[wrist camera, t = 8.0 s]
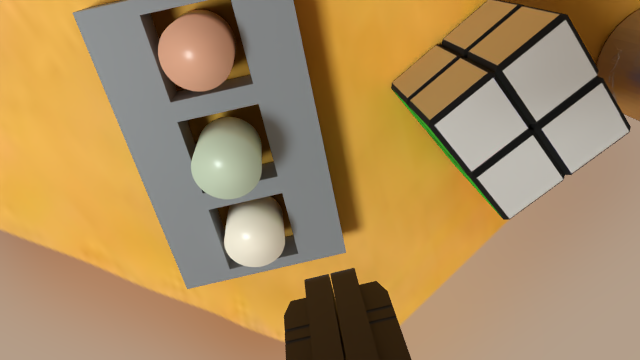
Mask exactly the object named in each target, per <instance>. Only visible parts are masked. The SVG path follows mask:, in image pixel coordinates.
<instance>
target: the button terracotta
mask: <svg viewBox="0 0 640 360" xmlns="http://www.w3.org/2000/svg"><path fill="white" fill-rule="evenodd" d="M235 54H236V39H235V35H234V33H233V30H232V29H231V27H230V25H229V24H228V23H227V22H226V21H225V20H224V19H223V18H222V17H220V16H219V15H217V14H216V13H213V12H211V11H207V10H192V11H189V12H187V13H184V14H183V15H181V16H180V17H179V18H177V19H176V20H175V21H174V22H173V23H171V24H170V25H169V26H168V27H167V28H166V29H165V30H164V32H163V34H162V35H161V38H160V40H159V45H158V57H159V61H160V64H161V67H162V69H163V71H164V72H165V74H166V75H167V76H168V77H169V78H170V80H171V81H173V82H174V83H175V84H177V85H178V86H180V87H182V88H184V89H187V90H191V91H208V90H211V89H214V88H216V87H217V86H219V85H220V84H222V83H223V82H224V81H225V80H226V78H227V77H228V76H229V74H230V72H231V69H232V66H233V62H234V58H235Z"/></svg>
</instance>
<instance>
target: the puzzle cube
mask: <svg viewBox="0 0 640 360" xmlns="http://www.w3.org/2000/svg"><path fill="white" fill-rule="evenodd" d="M598 72H599V70H598V68H597V67H596V65H595V63H594V61H593V59H592V58H591V56H590V54H589V52H588V51H587V49H586V47H585V45H584V43H583V42H582V40H581V38H580V36H579V35H578V33H577V31H576V29H575V28H574V26H573V24H572V22H571V20H570V19H569V17H568V15H566V14H562V13H557V12H552V11H547V10H542V9H538V8H533V7H527V6H524V5H520V4H515V3H510V2H505V1H500V0H488V1H487V2H485V3H484V4H483V5H482V6H481V7H480V8H478V9H477V10H476V11H475V12H474V13H473V14H471V15H470V16H469V17H468V18H467V19H466V20H464V21H463V22H462V23H461V24H460V25H459V26H458V27H456V28H455V29H454V30H453V31H452V32H451V33H449V34H448V35H447V36H446V37H445V38H444V39H443V41H442V45H435V46H434V47H433V48H432V49H431V50H430V51H428V52H427V53H426V54H425V55H424V56H423V57H421V58H420V59H419V60H418V61H417V62H416V63H414V64H413V65H412V66H411V67H410V68H409V69H407V70H406V71H405V72H404V73H403V74H402V75H401V76H399V77H398V78H397V79H396V80H395V81H394V82H392V87H391V89H392V90H393V91H394V92H395V94H396V95H397V96H398V97H399V98H400V100H401V101H402V102H403V103H404V105H405V106H406V107H407V108H408V109H409V111H410V112H411V113H412V114H413V115H414V117H415V118H416V119H417V120H418V122H419V123H420V124H421V125H422V126H423V127H424V129H425V130H426V131H427V132H428V133H429V135H430V136H431V137H432V138H433V139H434V141H435V142H436V143H437V144H438V146H439V147H440V148H441V149H442V150H443V152H444V153H445V154H446V155H447V157H448V158H449V159H450V160H451V161H452V163H453V164H454V165H455V166H456V167H457V168H458V169H459V171H460V172H461V173H462V174H463V175H464V176H465V177H466V178H467V179H468V181H469V182H470V183H471V184H472V185H473V186H474V187H475V188H476V189H477V191H478V192H479V193H480V194H481V195H482V196H483V197H484V198H485V199H486V201H487V202H488V203H489V204H490V205H491V206H492V207H493V208H494V209H495V211H496V212H497V213H498V214H499V215H500V216H501V217H502V218H503V219H511V218H512V217H514V216H515V215H516V214H518V213H519V212H520V211H522V210H523V209H524V208H526V207H527V206H529V205H530V204H531V203H533V202H534V201H536V200H537V199H538V198H540V197H541V196H542V195H544V194H545V193H547V192H548V191H549V190H551V189H552V188H553V187H555V186H556V185H558V184H559V183H560V182H562V181H563V179H564V176H565V175H572V174H573V173H574V172H575V171H577V170H578V169H580V168H581V167H583V166H584V165H585V164H587V163H588V162H589V161H591V160H592V159H594V158H595V157H596V156H598V155H599V154H600V153H602V152H603V151H605V150H606V149H607V148H609V147H610V146H611V145H613V144H614V143H616V142H617V141H618V140H620V139H621V138H622V137H624V136H625V135H626V134H628V133H629V132H630V125H629V123H628V122H627V120H626V118H625V116H624V114H623V113H622V111H621V109H620V107H619V106H618V104H617V102H616V100H615V98H614V97H613V95H612V93H611V91H610V90H609V88H608V86H607V84H606V82H605V81H604V79H603V78H601V77H599V76H597V75H598Z"/></svg>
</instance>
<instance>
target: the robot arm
mask: <svg viewBox="0 0 640 360" xmlns="http://www.w3.org/2000/svg"><path fill="white" fill-rule="evenodd" d="M597 68H598V70H599V72H598V75H597V76H599V77H601V78H603V79H604V81H605V82H606V84H607V86H608V88H609V90H610V91H611V93H612V95H613V97H614V98H615V100H616V102H617V104H618V106H619V107H620V109H621V111H622V113H623V114H625V115H627V116H629V117H631V118H633V119H636V120H638V121H640V9H639V10H637V11H636V12H634V13H633V14H631V15H630V16H628V17H627V18H626V19H625V20H624V21H623V22H622V23H620V24H619V25H618V26H617V27H616V29H615V30H614V31H613V32H612V34H611V35H610V36H609V38H608V39H607V41H606V43H605V45H604V46H603V48H602V51H601V53H600V56H599V59H598V62H597ZM331 279H332V284H333V288H332V285H331V281H330V277H329V274H327V275H323V276H318V277H314V278H310V279H306V280H305V290H306V298H303V299H298V300H294V301H291V302H290V304H289V306H288V308H287V310H286V313H285V315H284V324H285V343H286V345H285V346H286V360H411V357H410V354H409V352H408V349H407V346H406V343H405V340H404V337H403V334H402V332H401V329H400V326H399V323H398V320H397V318H396V314H395V311H394V309H393V306H392V303H391V300H390V297H389V294H388V291H387V290H386V289H385V288H383V287H382V286H381V285H380V284H379V283H378V282H377V281H374V282H370V283H366V284H361V285H359V283H358V279H357V276H356V272H355V269H354V268H352V269H347V270H343V271H339V272H335V273H331ZM333 289H334V292H333ZM334 294H335V296H334Z"/></svg>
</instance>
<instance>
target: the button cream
mask: <svg viewBox="0 0 640 360" xmlns="http://www.w3.org/2000/svg"><path fill="white" fill-rule="evenodd" d="M224 246H225V250H226V252H227V254H228V255H229V256H230V258H231V259H233V260H234V261H235V262H237V263H239V264H241V265H243V266H247V267H261V266H265V265H268V264H270V263H272V262H273V261H275V260H276V259H277V258H278V257H279V256H280V255H281V253H282V252H283V249H284V246H285V234H284V222H283V212H282V209H281V206H280V205H279V203H278V202H277V201H276V200H275V199H274V198H272V197H271V196H267V197H263V198H258V199H254V200H250V201H245V202H241V203H236V204H232V205H231V206H230V207H229V210H228V214H227V222H226V230H225V238H224Z"/></svg>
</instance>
